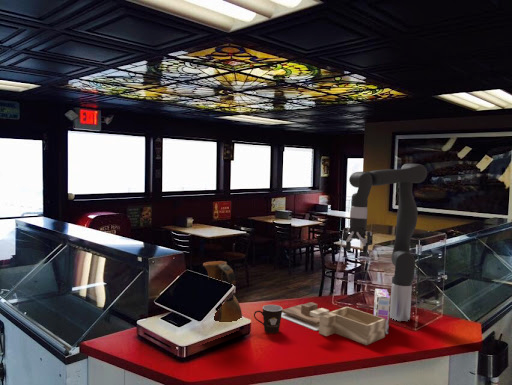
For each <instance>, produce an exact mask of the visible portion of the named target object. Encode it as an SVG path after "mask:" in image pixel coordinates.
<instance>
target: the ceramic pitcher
mask: <svg viewBox="0 0 512 385" xmlns="http://www.w3.org/2000/svg"><path fill="white" fill-rule="evenodd" d="M202 267H204V269H205V270H206V272H207V275H208V276H209V277H208V276H207V277H208V279H209V278H210V277H212V278H215V279H218V280H221V281H223V282H224V280H223V274H224V275H225V277H226V281H227V284H228V283H230V284H233V285H234V286H235V287H236V283H237V281H236V275H235V272H234V270H233V268H232V267H231V266H230V265H229V264H228V262H227V261H223V260H217V261H215V260H214V261H206V262H203V263H202ZM240 318H242V319H243V312H242V308H241V305H240V302H239V301H238V299H237V297H236V296H235V295H234V294H233V297H232V298H230V299H229V300H227V301H226V302H225V303H224V304H223V305H222V306H221V307H220V308H219V310H218V311H217V312H216V313H215V316H214V320H215V321H219V322H232V321H237V320H238V319H240Z"/></svg>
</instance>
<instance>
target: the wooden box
mask: <svg viewBox="0 0 512 385" xmlns="http://www.w3.org/2000/svg"><path fill="white" fill-rule="evenodd" d="M385 327H386V319H385V318H382V317H378V316H375V315H374V314H372V313H368V312H365V311H362V310H360V309H356V308H353V307H351V306H350V307H349V306H344V307H341V308H338V309H335V310H332V311H329V314H328V315H324V316H321V317H320V322H319V330H318V334H320V335H322V336H324V337H328V336H330V335H333V334H336V335H338V336H341V337H343V338H347V339H349V340H352V341H355V342H357V343H359V344H363V345H365V346H368V345H370V344H372V343H375V342H377V341H380V340H382V339H384V338H385V337H386V334H385Z"/></svg>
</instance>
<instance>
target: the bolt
mask: <svg viewBox="0 0 512 385" xmlns="http://www.w3.org/2000/svg"><path fill="white" fill-rule="evenodd" d="M329 312H330V310H329V309H327V308H324V307H321V308H320V307H319V308H317V309H316V310H313V311H310V315H311V316H313V317H316V318H318V317H321V316H324V315H328V314H329Z"/></svg>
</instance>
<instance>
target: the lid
mask: <svg viewBox="0 0 512 385" xmlns="http://www.w3.org/2000/svg"><path fill="white" fill-rule="evenodd" d="M316 309H318V303H315V302H313V301H312V302H306V303H304V304H303V303H301V304H298V305H293V306H290V307H287V308H284V309H282V313H285V314H287V315H289V316H292V317H295V318H297V319H300V320H303V321H305V322H308V323H310V324H313V325H319V322H320V317H318V318H316V317H313V316H311V315H310V311H313V310H316Z"/></svg>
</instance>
